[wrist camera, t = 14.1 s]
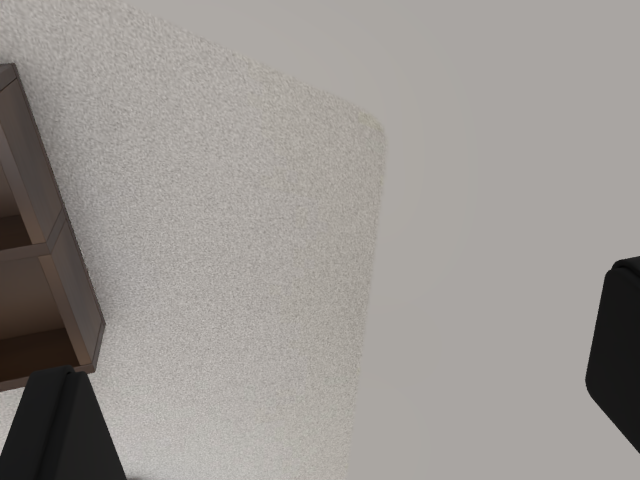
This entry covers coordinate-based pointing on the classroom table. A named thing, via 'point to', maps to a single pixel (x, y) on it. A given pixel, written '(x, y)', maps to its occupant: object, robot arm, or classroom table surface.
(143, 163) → the classroom table surface
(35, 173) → the compartment tray
